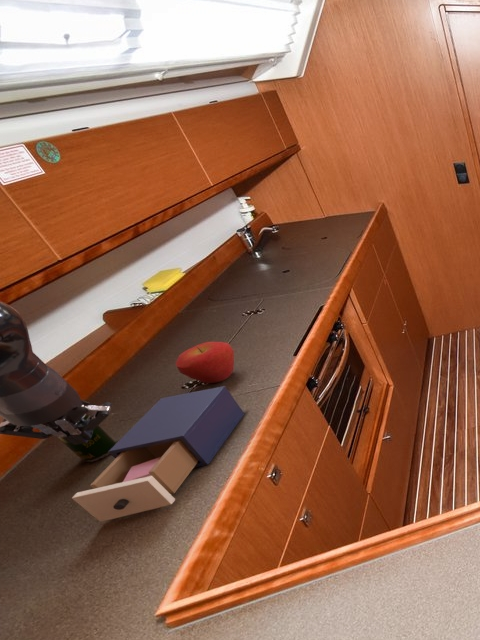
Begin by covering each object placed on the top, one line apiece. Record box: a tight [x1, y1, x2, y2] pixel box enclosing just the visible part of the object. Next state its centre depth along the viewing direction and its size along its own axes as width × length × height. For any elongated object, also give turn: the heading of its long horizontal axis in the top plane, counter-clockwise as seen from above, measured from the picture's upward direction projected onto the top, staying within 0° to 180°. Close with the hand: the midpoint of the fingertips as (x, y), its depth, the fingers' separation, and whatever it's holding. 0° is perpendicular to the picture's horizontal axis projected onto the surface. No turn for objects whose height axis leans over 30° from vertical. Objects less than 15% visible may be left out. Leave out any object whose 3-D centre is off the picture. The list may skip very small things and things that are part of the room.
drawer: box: [71, 439, 199, 523], centre depth 85 cm, size 16×12×8 cm
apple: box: [175, 341, 235, 384], centre depth 114 cm, size 11×11×12 cm
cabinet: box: [108, 385, 245, 469], centre depth 95 cm, size 16×13×10 cm
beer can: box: [58, 412, 117, 463], centre depth 93 cm, size 5×5×12 cm
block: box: [123, 457, 160, 482], centre depth 85 cm, size 4×4×4 cm
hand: (83, 439), depth 78 cm, fingers closed
